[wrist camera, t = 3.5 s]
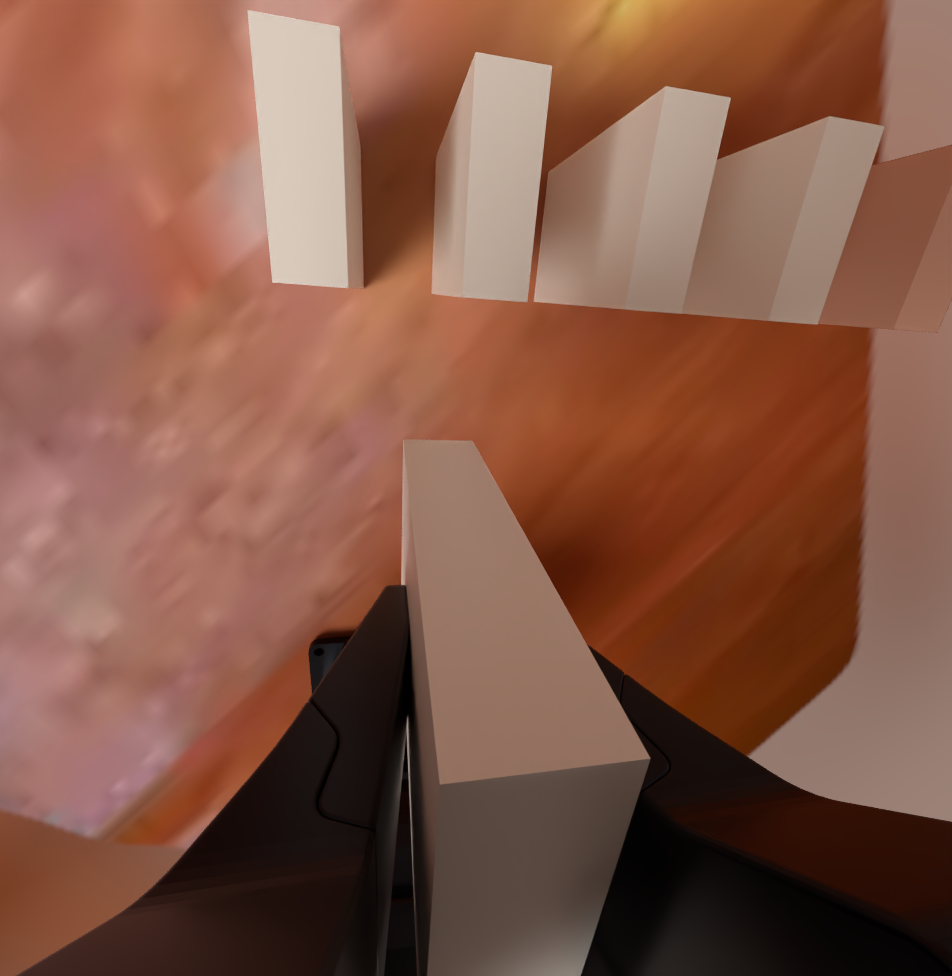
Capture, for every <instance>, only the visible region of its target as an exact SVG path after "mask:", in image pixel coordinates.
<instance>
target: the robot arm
mask: <svg viewBox="0 0 952 976" xmlns="http://www.w3.org/2000/svg"><path fill="white" fill-rule="evenodd" d="M587 646H588V648H589V649H590V651H591V653H592V655H593V657H594V658H595V660H596V662H597V664H598V665H599V667H600V669H601V671H602V673H603V674H604V676H605V678H606V680H607V682H608V683H609V685H610V687H611V689H612V690H613V692H614V694H615V696H616V698H617V699H618V701H619V703H620V705H621V707H622V708H623V710H624V712H625V714H626V715H627V717H628V719H629V721H630V723H631V724H632V726H633V728H634V730H635V732H636V733H637V735H638V737H639V739H640V740H641V742H642V744H643V746H644V748H645V749H646V751H647V753H648V755H649V757H650V758H651V759H650V762H649V765H648V768H647V771H646V774H645V778H644V781H643V784H642V787H641V790H640V793H639V796H638V799H637V802H636V806H635V809H634V812H633V815H632V818H631V821H630V824H629V827H628V830H627V834H626V837H625V840H624V843H623V846H622V849H621V852H620V855H619V858H618V862H617V865H616V868H615V871H614V874H613V877H612V880H611V883H610V886H609V890H608V893H607V896H606V899H605V902H604V905H603V908H602V911H601V914H600V918H599V921H598V924H597V927H596V930H595V933H594V936H593V939H592V942H591V946H590V949H589V952H588V955H587V958H586V961H585V964H584V967H583V970H582V974H581V976H952V822H950V821H945V820H939V819H934V818H928V817H923V816H917V815H912V814H906V813H901V812H895V811H890V810H884V809H879V808H874V807H868V806H862V805H857V804H852V803H846V802H841V801H836V800H832V799H828V798H825V797H821V796H818V795H815V794H813V793H810V792H808V791H805V790H803V789H800V788H798V787H796V786H794V785H793V784H791V783H789V782H787V781H785V780H783V779H781V778H780V777H778V776H777V775H775V774H773V773H772V772H770V771H768V770H767V769H766V768H764V767H762V766H761V765H759V764H758V763H756V762H755V761H753V760H752V759H750V758H748V757H747V756H745V755H744V754H742V753H741V752H739V751H738V750H736V749H735V748H733V747H731V746H730V745H728V744H727V743H725V742H724V741H722V740H721V739H719V738H718V737H716V736H714V735H713V734H711V733H710V732H708V731H707V730H705V729H704V728H702V727H701V726H699V725H697V724H696V723H694V722H693V721H691V720H690V719H689V718H687V717H686V716H684V715H683V714H681V713H680V712H678V711H677V710H675V709H674V708H672V707H671V706H669V705H668V704H666V703H665V702H664V701H662V700H661V699H659V698H658V697H657V696H655V695H654V694H653V693H651V692H650V691H649V690H647V689H646V688H644V687H643V686H642V685H640V684H639V683H638V682H636V681H635V680H634V679H633V678H631V677H630V676H629V675H624V672H623V671H622V670H621V669H619V668H618V667H617V666H615V665H614V664H613V663H611V662H610V661H609V660H607V659H606V658H605V657H603V656H602V655H601V654H600V653H598V652H597V651H596V650H594V649H593V648H592V647H590V646H589V645H588V644H587ZM317 648H321V649H323V650H321V651H320V650H317ZM409 649H410V621H409V610H408V599H407V589H406V586H405V585H389V586H386V587H385V588H384V590H383V591H382V593H381V594H380V596H379V597H378V599H377V600H376V602H375V603H374V605H373V606H372V607H371V609H370V610H369V612H368V613H367V615H366V616H365V618H364V619H363V621H362V622H361V624H360V625H359V627H358V628H357V629H356V631H355V632H354V634H353V635H352V637H341V638H325V639H316V640H314V641H313V642H312V643H311V644H310V648H309V663H310V675H311V686H312V695H311V697H310V698H309V702H307V703H306V704H305V705H304V707H303V708H302V710H301V711H300V713H299V714H298V716H297V717H296V719H295V720H294V721H293V723H292V724H291V726H290V727H289V728H288V730H287V731H286V732H285V734H284V735H283V736H282V738H281V739H280V741H279V742H278V743H277V745H276V746H275V747H274V749H273V750H272V751H271V752H270V753H269V755H268V756H267V757H266V758H265V759H264V761H263V762H262V763H261V764H260V765H259V767H258V768H257V769H256V770H255V772H254V773H253V774H252V775H251V776H250V778H249V779H248V780H247V781H246V782H245V783H244V785H243V786H242V787H241V788H240V789H239V790H238V791H237V793H236V794H235V795H234V796H233V797H232V798H231V800H230V801H229V802H228V803H227V804H226V805H225V807H224V808H223V809H222V810H221V811H220V812H219V813H218V815H217V816H216V817H215V818H214V819H213V820H212V822H211V823H210V824H209V825H208V826H207V827H206V829H205V830H204V831H203V832H202V833H201V834H200V836H199V837H198V838H197V839H196V840H195V841H194V842H193V844H192V845H191V846H190V847H189V848H188V849H187V851H186V852H185V853H184V854H183V855H182V856H181V858H180V859H179V860H178V861H177V862H176V863H175V864H174V865H173V866H172V868H171V869H170V870H169V871H168V872H167V873H166V874H165V875H164V876H163V877H162V878H161V879H160V880H159V881H158V882H157V883H156V884H155V885H154V886H153V887H152V888H151V889H149V890H148V891H147V892H146V893H145V894H144V895H142V896H141V897H140V898H139V899H138V900H137V901H136V902H134V903H133V904H132V905H130V906H129V907H128V908H126V909H125V910H124V911H122V912H121V913H119V914H118V915H116V916H114V917H113V918H112V919H110V920H108V921H106V922H105V923H103V924H101V925H100V926H98V927H96V928H95V929H93V930H91V931H90V932H88V933H86V934H85V935H83V936H82V937H80V938H78V939H76V940H75V941H73V942H71V943H70V944H68V945H66V946H65V947H63V948H61V949H60V950H58V951H56V952H55V953H53V954H51V955H50V956H48V957H46V958H45V959H43V960H41V961H40V962H38V963H36V964H35V965H33V966H31V967H30V968H28V969H26V970H25V971H23V972H21V973H20V974H18V975H17V976H417V957H416V934H415V911H414V888H413V865H412V842H411V819H410V796H409V773H408V751H407V718H408V692H409Z"/></svg>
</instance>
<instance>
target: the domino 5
mask: <svg viewBox="0 0 952 976" xmlns="http://www.w3.org/2000/svg"><path fill="white" fill-rule="evenodd" d="M884 128H885V126H881V125H876V124H870V123H865V122H859V121H854V120H848V119H843V118H837V117H832V116H828V117H826V118H823V119H821V120H818V121H815V122H813V123H810V124H808V125H805V126H803V127H800V128H797V129H795V130H792V131H790V132H787V133H785V134H782V135H779V136H777V137H774V138H772V139H769V140H767V141H764V142H761V143H759V144H756V145H754V146H751V147H749V148H746V149H743V150H741V151H738V152H736V153H733V154H731V155H728V156H725V157H723V158H720V159H718V160H717V161H716V165H715V170H714V174H713V178H712V183H711V187H710V191H709V196H708V200H707V205H706V209H705V213H704V218H703V222H702V226H701V231H700V235H699V239H698V244H697V248H696V253H695V257H694V261H693V266H692V270H691V274H690V279H689V283H688V287H687V292H686V296H685V301H684V305H683V309H682V314H693V315H705V316H717V317H728V318H740V319H752V320H764V321H776V322H789V323H802V324H816V325H817V324H818V321H819V319H820V316H821V313H822V310H823V307H824V304H825V301H826V298H827V295H828V292H829V289H830V286H831V283H832V280H833V277H834V274H835V272H836V269H837V266H838V263H839V260H840V257H841V254H842V251H843V248H844V245H845V242H846V239H847V236H848V233H849V230H850V228H851V225H852V222H853V219H854V216H855V213H856V210H857V207H858V204H859V201H860V198H861V195H862V192H863V189H864V186H865V184H866V181H867V178H868V175H869V172H870V169H871V166H872V163H873V160H874V157H875V154H876V151H877V148H878V145H879V142H880V139H881V137H882V134H883V131H884Z"/></svg>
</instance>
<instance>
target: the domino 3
mask: <svg viewBox="0 0 952 976" xmlns="http://www.w3.org/2000/svg"><path fill="white" fill-rule="evenodd" d="M401 585H405V586H406V589H407V599H408V610H409V621H410V649H409V692H408V718H407V751H408V773H409V796H410V819H411V842H412V865H413V888H414V911H415V934H416V957H417V976H581V974H582V970H583V967H584V964H585V961H586V958H587V955H588V952H589V949H590V946H591V942H592V939H593V936H594V933H595V930H596V927H597V924H598V921H599V918H600V914H601V911H602V908H603V905H604V902H605V899H606V896H607V893H608V890H609V886H610V883H611V880H612V877H613V874H614V871H615V868H616V865H617V862H618V858H619V855H620V852H621V849H622V846H623V843H624V840H625V837H626V834H627V830H628V827H629V824H630V821H631V818H632V815H633V812H634V809H635V806H636V802H637V799H638V796H639V793H640V790H641V787H642V784H643V781H644V778H645V774H646V771H647V768H648V765H649V762H650V759H651V758H650V757H649V755H648V753H647V751H646V749H645V748H644V746H643V744H642V742H641V740H640V739H639V737H638V735H637V733H636V732H635V730H634V728H633V726H632V724H631V723H630V721H629V719H628V717H627V715H626V714H625V712H624V710H623V708H622V707H621V705H620V703H619V701H618V699H617V698H616V696H615V694H614V692H613V690H612V689H611V687H610V685H609V683H608V682H607V680H606V678H605V676H604V674H603V673H602V671H601V669H600V667H599V665H598V664H597V662H596V660H595V658H594V657H593V655H592V653H591V651H590V649H589V648H588V646H587V644H586V642H585V641H584V639H583V637H582V635H581V633H580V632H579V630H578V628H577V626H576V624H575V623H574V621H573V619H572V617H571V616H570V614H569V612H568V610H567V608H566V607H565V605H564V603H563V601H562V599H561V598H560V596H559V594H558V592H557V591H556V589H555V587H554V585H553V583H552V582H551V580H550V578H549V576H548V574H547V573H546V571H545V569H544V567H543V566H542V564H541V562H540V560H539V558H538V557H537V555H536V553H535V551H534V549H533V548H532V546H531V544H530V542H529V541H528V539H527V537H526V535H525V533H524V532H523V530H522V528H521V526H520V524H519V523H518V521H517V519H516V517H515V516H514V514H513V512H512V510H511V508H510V507H509V505H508V503H507V501H506V499H505V498H504V496H503V494H502V492H501V491H500V489H499V487H498V485H497V483H496V482H495V480H494V478H493V476H492V474H491V473H490V471H489V469H488V467H487V466H486V464H485V462H484V460H483V458H482V457H481V455H480V453H479V451H478V449H477V448H476V446H475V444H474V442H473V441H457V440H406V439H403V497H402V570H401Z"/></svg>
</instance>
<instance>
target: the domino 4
mask: <svg viewBox="0 0 952 976" xmlns="http://www.w3.org/2000/svg"><path fill="white" fill-rule="evenodd" d="M730 100H731V98H730V97H724V96H719V95H713V94H708V93H702V92H697V91H691V90H685V89H680V88H674V87H669V86H665V87H664V88H662V89H661V90H660V91H658V92H657V93H656V94H654V95H653V96H651V97H650V98H649V99H647V100H646V101H645V102H643V103H642V104H641V105H639V106H638V107H636V108H635V109H634V110H632V111H631V112H630V113H628V114H627V115H625V116H624V117H623V118H621V119H620V120H619V121H617V122H616V123H615V124H613V125H612V126H610V127H609V128H608V129H606V130H605V131H604V132H602V133H601V134H599V135H598V136H597V137H595V138H594V139H593V140H591V141H590V142H589V143H587V144H586V145H584V146H583V147H582V148H580V149H579V150H578V151H576V152H575V153H573V154H572V155H571V156H569V157H568V158H567V159H565V160H564V161H563V162H561V163H560V164H558V165H557V166H556V167H554V168H553V169H552V170H550V171H549V172H548V179H547V188H546V197H545V206H544V215H543V224H542V233H541V242H540V251H539V260H538V269H537V277H536V286H535V295H534V302H543V303H555V304H567V305H578V306H590V307H602V308H613V309H625V310H638V311H651V312H664V313H677V314H682V309H683V305H684V301H685V296H686V292H687V287H688V283H689V279H690V274H691V270H692V266H693V261H694V257H695V253H696V248H697V244H698V239H699V235H700V231H701V226H702V222H703V218H704V213H705V209H706V205H707V200H708V196H709V191H710V187H711V183H712V178H713V174H714V170H715V165H716V161H717V157H718V152H719V148H720V143H721V139H722V135H723V130H724V126H725V122H726V117H727V113H728V109H729V104H730Z"/></svg>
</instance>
